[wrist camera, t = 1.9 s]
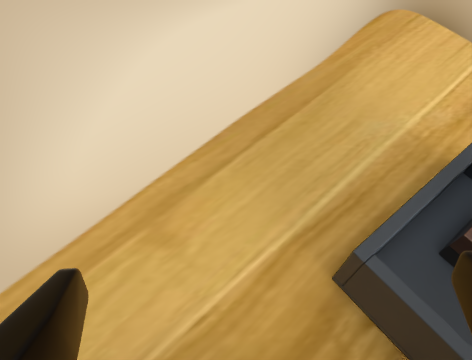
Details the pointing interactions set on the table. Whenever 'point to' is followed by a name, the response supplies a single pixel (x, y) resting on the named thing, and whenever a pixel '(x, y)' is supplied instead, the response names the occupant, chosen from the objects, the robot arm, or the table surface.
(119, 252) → the table surface
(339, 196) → the table surface
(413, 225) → the basket
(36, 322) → the robot arm
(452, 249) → the teal handled stamp
